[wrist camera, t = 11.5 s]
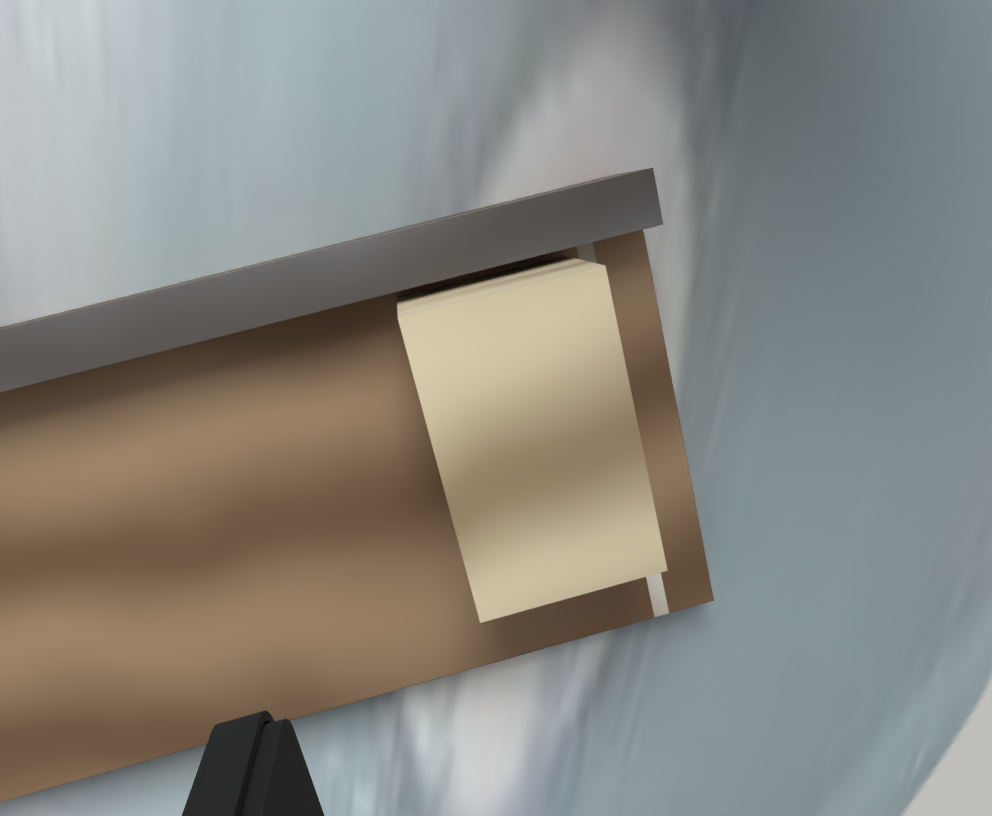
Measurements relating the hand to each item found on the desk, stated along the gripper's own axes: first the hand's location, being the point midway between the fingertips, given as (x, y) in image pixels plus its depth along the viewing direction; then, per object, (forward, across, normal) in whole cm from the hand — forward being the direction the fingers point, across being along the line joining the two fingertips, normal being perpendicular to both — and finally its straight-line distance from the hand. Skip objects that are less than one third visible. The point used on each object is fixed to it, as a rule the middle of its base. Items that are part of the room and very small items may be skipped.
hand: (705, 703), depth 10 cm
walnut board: (+18, +8, +2) cm, 20 cm away
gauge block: (+16, 0, 0) cm, 16 cm away
